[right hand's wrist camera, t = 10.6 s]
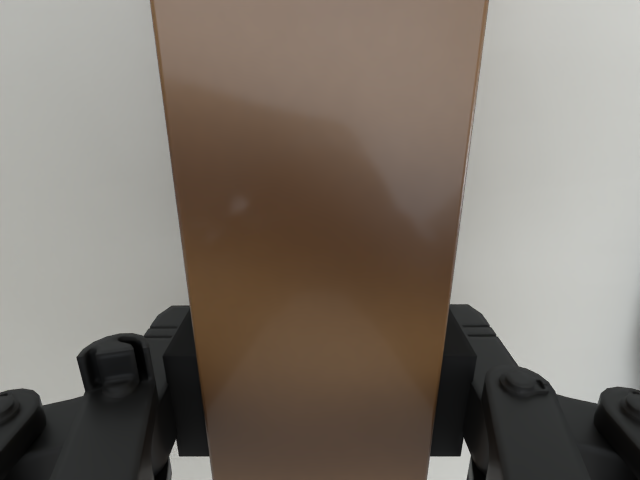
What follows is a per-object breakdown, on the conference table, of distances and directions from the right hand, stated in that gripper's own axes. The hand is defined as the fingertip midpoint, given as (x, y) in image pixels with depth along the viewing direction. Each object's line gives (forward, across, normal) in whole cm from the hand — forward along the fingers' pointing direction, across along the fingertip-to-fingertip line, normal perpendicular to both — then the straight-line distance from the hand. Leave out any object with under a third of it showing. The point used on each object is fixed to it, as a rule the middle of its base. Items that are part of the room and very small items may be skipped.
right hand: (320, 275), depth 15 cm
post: (+1, 0, -22) cm, 22 cm away
